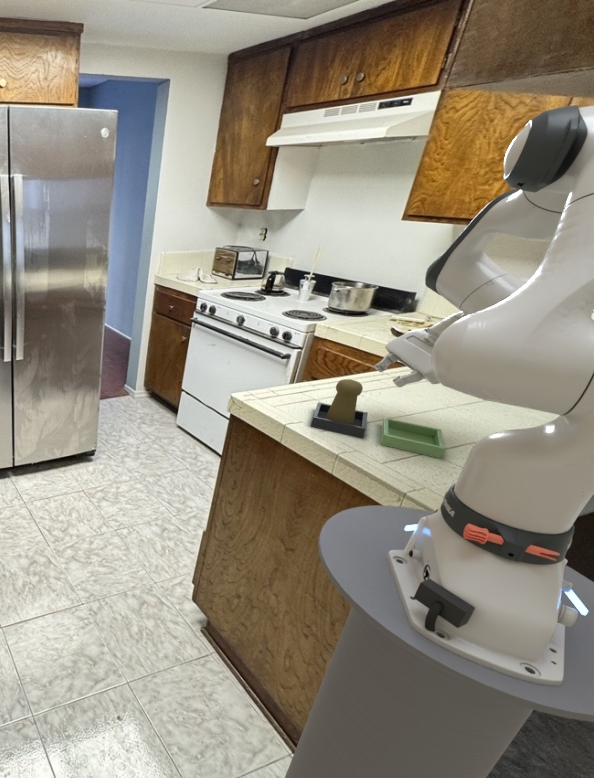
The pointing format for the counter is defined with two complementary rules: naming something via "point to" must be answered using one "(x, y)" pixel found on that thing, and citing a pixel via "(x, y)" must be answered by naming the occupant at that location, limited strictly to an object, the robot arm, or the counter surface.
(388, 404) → the counter surface
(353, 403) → the olive brown pawn
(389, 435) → the green tray
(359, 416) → the dark tray
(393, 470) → the counter surface
